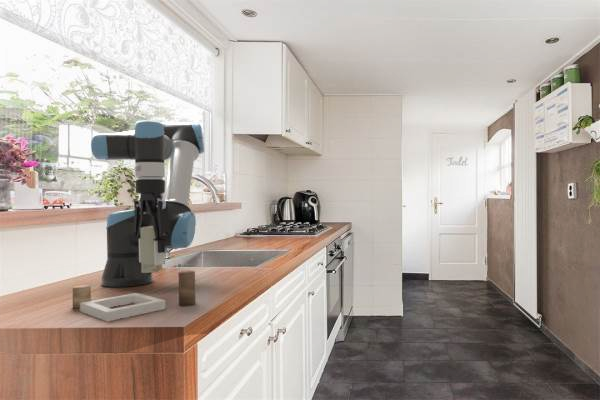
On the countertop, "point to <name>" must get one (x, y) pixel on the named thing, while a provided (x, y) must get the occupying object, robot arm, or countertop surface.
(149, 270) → the skincare box
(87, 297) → the short oak dowel
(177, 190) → the robot arm
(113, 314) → the white square frame
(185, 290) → the mid walnut dowel
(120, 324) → the countertop surface
